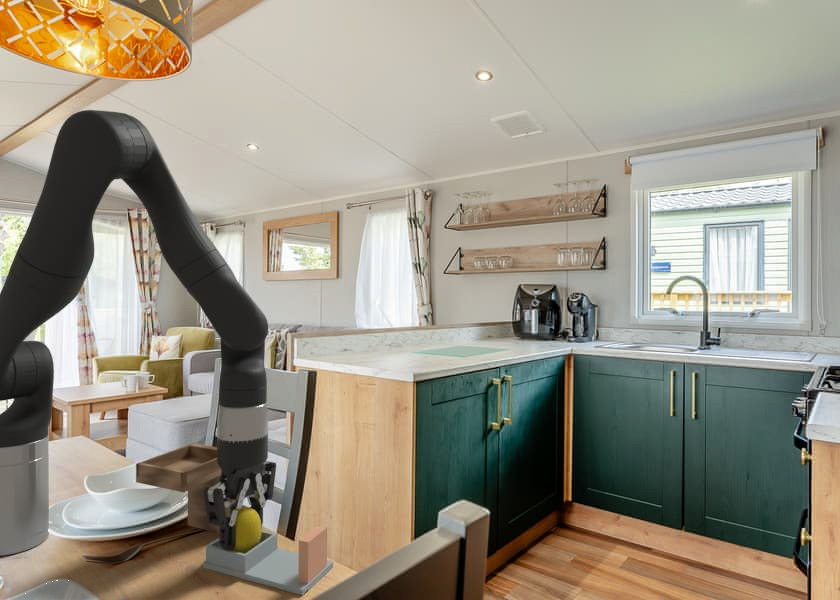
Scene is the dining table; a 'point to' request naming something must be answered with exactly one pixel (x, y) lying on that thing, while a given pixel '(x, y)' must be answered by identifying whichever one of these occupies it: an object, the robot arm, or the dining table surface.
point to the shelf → (185, 478)
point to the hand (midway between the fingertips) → (242, 538)
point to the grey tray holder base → (275, 561)
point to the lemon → (247, 530)
